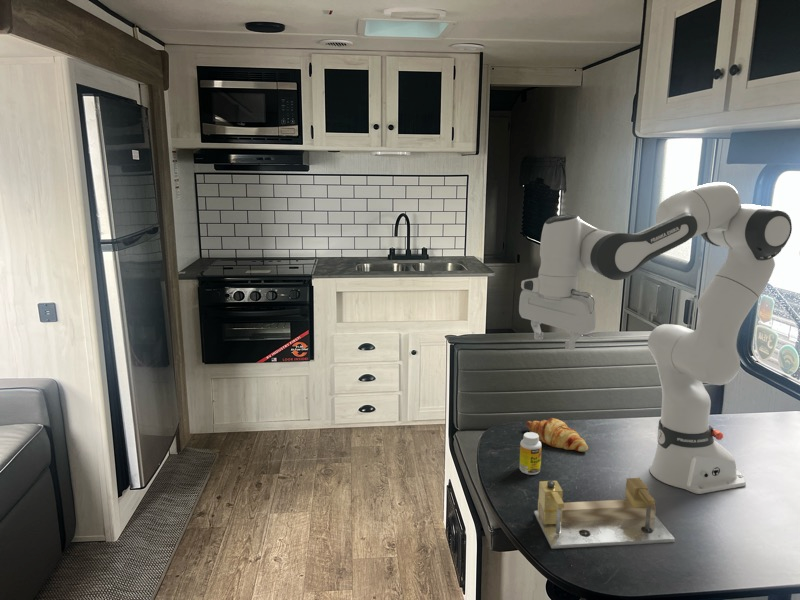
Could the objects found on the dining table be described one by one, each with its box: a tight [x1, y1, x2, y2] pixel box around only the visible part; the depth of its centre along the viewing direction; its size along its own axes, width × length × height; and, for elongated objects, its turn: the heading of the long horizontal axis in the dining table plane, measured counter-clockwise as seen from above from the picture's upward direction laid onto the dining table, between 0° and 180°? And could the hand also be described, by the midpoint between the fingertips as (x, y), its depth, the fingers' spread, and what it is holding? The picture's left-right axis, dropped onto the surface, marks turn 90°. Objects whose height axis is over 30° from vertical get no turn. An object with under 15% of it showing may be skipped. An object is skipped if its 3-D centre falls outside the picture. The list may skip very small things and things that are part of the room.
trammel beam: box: [539, 477, 657, 530], centre depth 132 cm, size 26×9×8 cm, turn 93°
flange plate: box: [533, 510, 676, 550], centre depth 132 cm, size 27×13×1 cm, turn 93°
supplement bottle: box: [519, 431, 543, 476], centre depth 157 cm, size 6×6×10 cm
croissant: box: [525, 417, 589, 453], centre depth 174 cm, size 21×10×8 cm, turn 42°
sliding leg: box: [537, 480, 565, 534], centre depth 131 cm, size 4×10×9 cm, turn 3°
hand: (553, 344), depth 138 cm, fingers open, 8 cm apart
